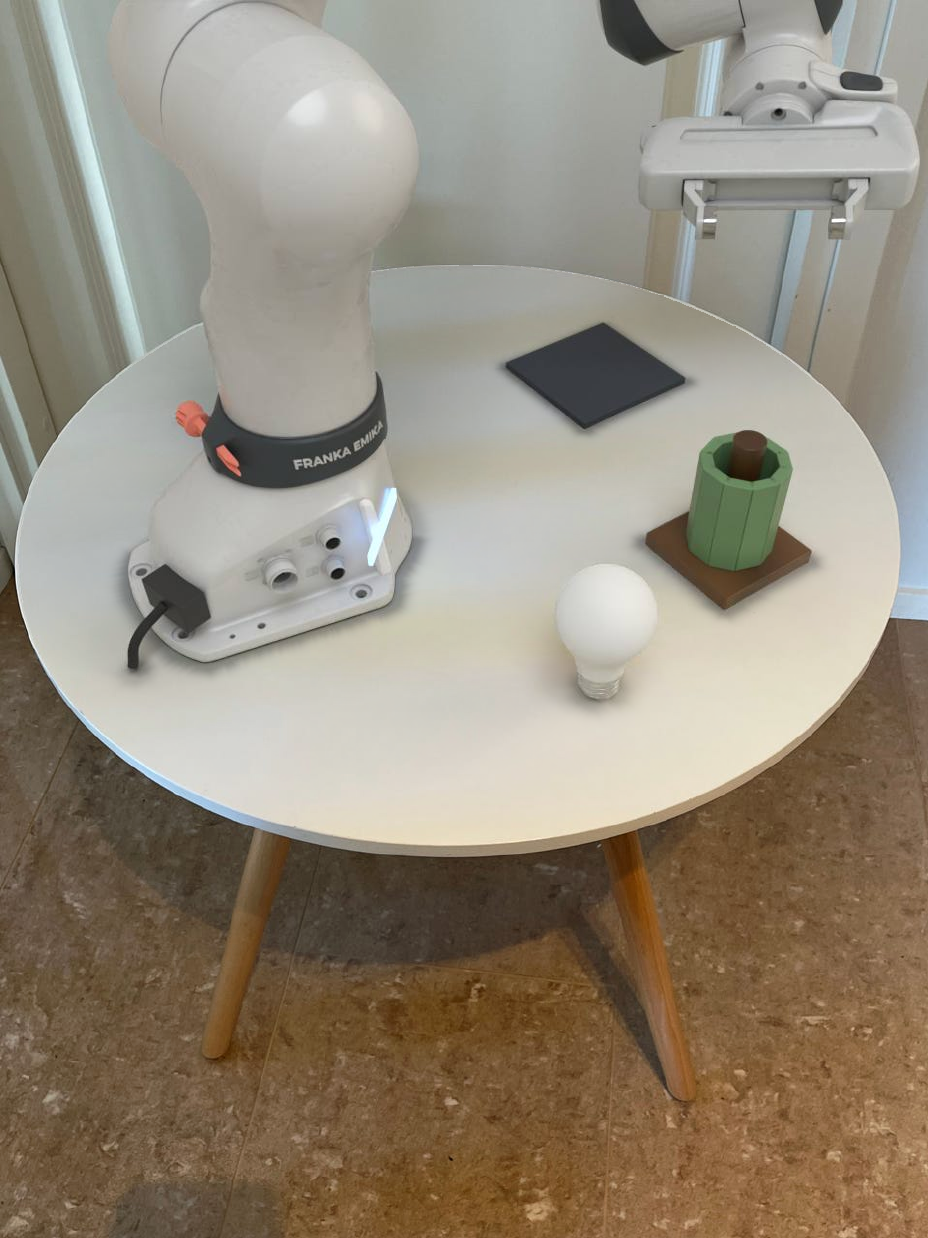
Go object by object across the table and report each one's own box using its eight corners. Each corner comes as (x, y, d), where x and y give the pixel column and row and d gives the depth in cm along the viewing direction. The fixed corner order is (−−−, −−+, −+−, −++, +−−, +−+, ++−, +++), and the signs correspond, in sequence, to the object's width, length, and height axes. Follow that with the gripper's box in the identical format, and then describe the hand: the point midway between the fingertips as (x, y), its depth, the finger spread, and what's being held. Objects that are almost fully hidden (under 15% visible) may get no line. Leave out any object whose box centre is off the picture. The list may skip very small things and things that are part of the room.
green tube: (728, 583, 79) (746, 501, 73) (668, 534, 83) (681, 452, 77) (789, 548, 81) (811, 467, 76) (728, 502, 85) (745, 421, 79)
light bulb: (641, 735, 71) (659, 624, 63) (543, 720, 72) (548, 609, 64) (649, 661, 76) (667, 548, 67) (557, 648, 77) (563, 536, 69)
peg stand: (724, 610, 79) (749, 497, 71) (644, 543, 84) (659, 431, 76) (809, 561, 82) (843, 448, 74) (727, 500, 87) (750, 388, 79)
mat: (584, 429, 94) (584, 423, 94) (505, 367, 101) (505, 362, 101) (685, 383, 99) (685, 377, 98) (603, 327, 106) (603, 321, 105)
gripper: (643, 85, 83) (627, 194, 76) (919, 77, 79) (930, 192, 72) (642, 158, 88) (627, 266, 81) (901, 154, 84) (910, 268, 77)
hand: (772, 231), depth 76 cm, fingers open, 8 cm apart
